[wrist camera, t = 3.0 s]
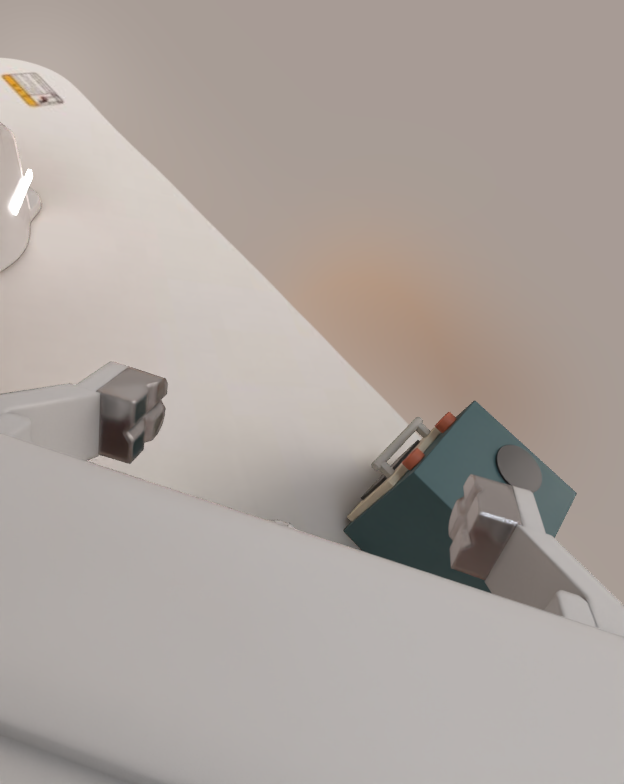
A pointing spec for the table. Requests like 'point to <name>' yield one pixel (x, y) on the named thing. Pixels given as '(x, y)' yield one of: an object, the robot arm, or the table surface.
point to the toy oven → (447, 490)
